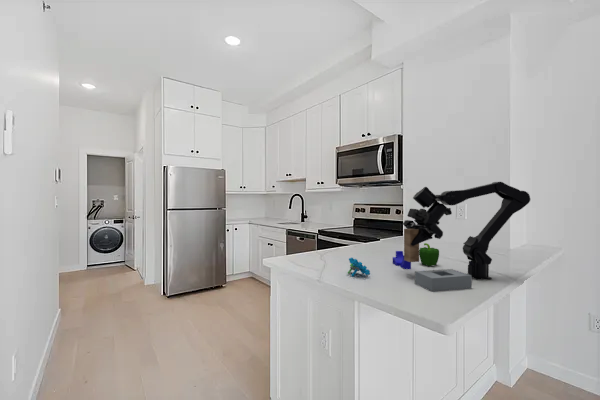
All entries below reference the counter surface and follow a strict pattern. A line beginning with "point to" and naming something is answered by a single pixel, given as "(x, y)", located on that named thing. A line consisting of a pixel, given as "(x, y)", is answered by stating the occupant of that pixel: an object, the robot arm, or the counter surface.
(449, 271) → the grey socket block
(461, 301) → the counter surface
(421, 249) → the bell pepper
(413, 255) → the walnut peg
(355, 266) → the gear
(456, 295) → the counter surface
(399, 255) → the blue stepped arch
